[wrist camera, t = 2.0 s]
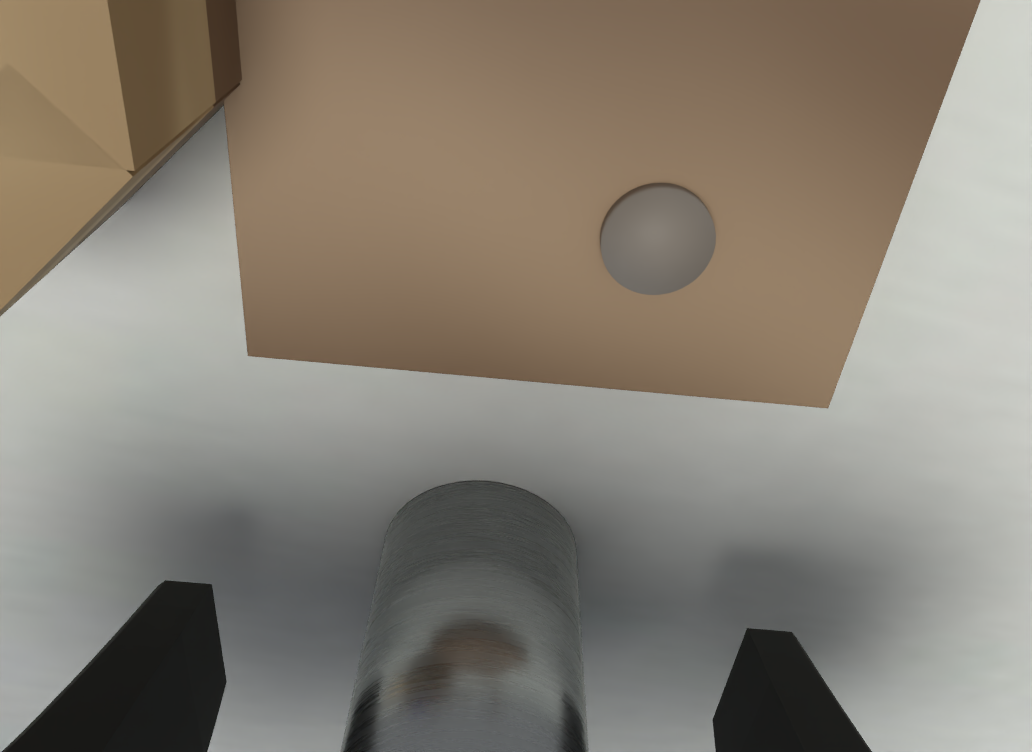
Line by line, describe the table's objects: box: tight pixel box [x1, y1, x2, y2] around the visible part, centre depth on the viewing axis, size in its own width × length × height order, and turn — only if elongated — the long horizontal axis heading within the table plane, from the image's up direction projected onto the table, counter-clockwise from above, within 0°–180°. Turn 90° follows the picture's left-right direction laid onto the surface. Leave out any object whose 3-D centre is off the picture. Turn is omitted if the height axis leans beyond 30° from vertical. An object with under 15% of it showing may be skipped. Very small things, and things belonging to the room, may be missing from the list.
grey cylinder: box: [341, 481, 588, 752], centre depth 10 cm, size 3×3×6 cm
